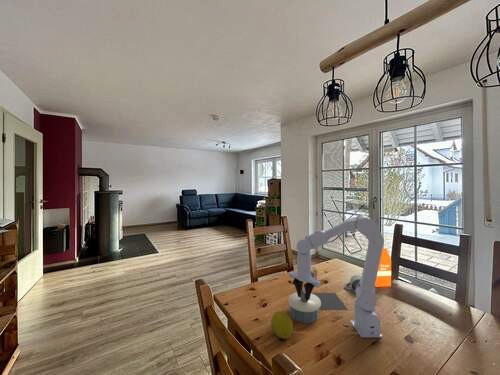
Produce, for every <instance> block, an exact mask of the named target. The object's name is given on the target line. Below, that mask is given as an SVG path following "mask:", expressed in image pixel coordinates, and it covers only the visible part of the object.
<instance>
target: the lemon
mask: <svg viewBox="0 0 500 375" xmlns="http://www.w3.org/2000/svg"><path fill="white" fill-rule="evenodd" d="M270 323H271V329H272V331H273V333H274V334H275V335H276V336H277V338H280V339H283V340H286V339H288V338H290V337H291V335H292V334H293V329H294V323H293V320H292V318H291V316H290V315H288V313H286V312H284V311H282V310H279V311H275V312H274V313H273V315H272V318H271V322H270Z"/></svg>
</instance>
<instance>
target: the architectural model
mask: <svg viewBox="0 0 500 375" xmlns="http://www.w3.org/2000/svg"><path fill="white" fill-rule="evenodd" d="M311 277H313V278H315V279H316V280H318V270H317V269H316V267H311Z"/></svg>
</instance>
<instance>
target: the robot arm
mask: <svg viewBox="0 0 500 375" xmlns="http://www.w3.org/2000/svg"><path fill="white" fill-rule="evenodd" d="M357 231H358V232H359V234H361V235H363V236H365V238H366V239H367V240H368V245H367V250H366V254H365V258H364V264H363V269H362V274H361V279H360V281H359V284H358V285H357V286H356V288H355V292H354V293H355V294H356V295H355V296H356V299H355V301H354V317H353V318H354V319H353V320H350V321H349V322H350V323H351V324H352V327H354V328H355V330H356V331H357V333H358V335H359V336H360V337H361V338H383V334H382V333H381V320H380V317H379V316H378V313H377V311H376V306H377V302H376V298H375V296H376V286H375V283H376V278H377V273H378V269H379V264H380V259H381V254H382V250H383V248H384V244H385V239H384V236H383V234H382V233H381V230H380V228H379V226H378V224H377V223H376V222H375V221H374V220H373V219H371V217H369V216H368V215H366V214H359V215H357V216H354V217H351V218H348V219H346V220H344V221H343V222H340V223H339V224H338V223H337V225H334V226H333V227H331V228H329V229H327V230H322V229H320V230H319V229H316V230H314V232H313V233H311V234H309V235H305V236H304V237H301V238H300V239H298V242H297V243H296V249H297V250H296V251H297V255H296V256H297V257H296V258H297V259H296V260H297V261H296V262H297V265H296V268H297V269H296V272H295V271H289V272H288V277H289V278H293V280H292V284H293V285H294V287H295V288H294V289H295V290H296V292H297V294H298V297H300V291H302V290H303V287H304V290H305V298H306V301H308V300H309V299H310V295H311V293H313V290H314V288H320V287H321V285H322V282H321V281H320V280H318V279H317V280H316V279H315V278H313V277H311V272H312V256H311V252H312V251H311V250H314V249H317V248H319V247H321V246H323V245H325V244H328V243H329V239H331V238H333V237H336V236H338V235H341V234H344V233H347V232H351V233H357Z"/></svg>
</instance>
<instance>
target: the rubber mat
mask: <svg viewBox="0 0 500 375" xmlns="http://www.w3.org/2000/svg"><path fill="white" fill-rule="evenodd" d="M311 293H312V294H314V295H316V296H317V297H318V298H319V299H320V301H321V306H320V308H319V311H323V310H324V311H331V310H332V311H348V310H349V309H348V308H347V306H346V305H345V304H344V302H343V301H342V300H341V299H340V298H339V296H338V294H337V293H335V292H311Z"/></svg>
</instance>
